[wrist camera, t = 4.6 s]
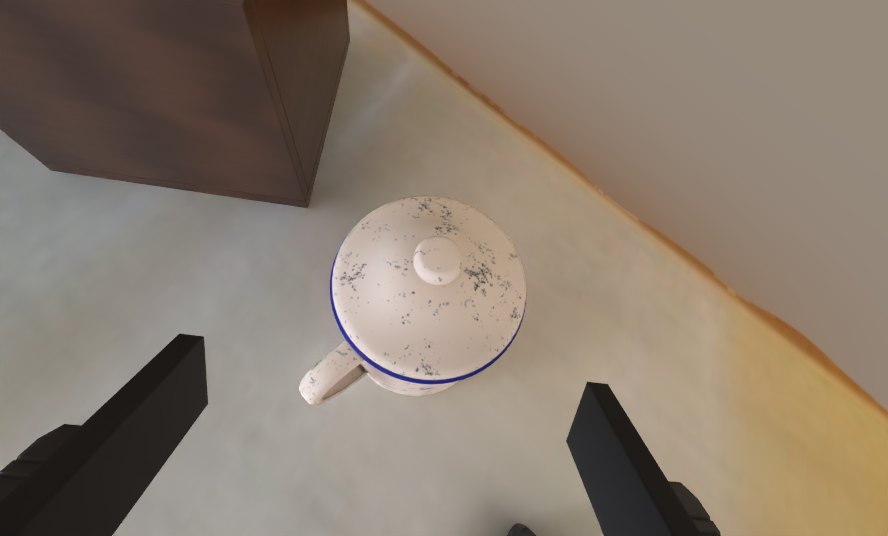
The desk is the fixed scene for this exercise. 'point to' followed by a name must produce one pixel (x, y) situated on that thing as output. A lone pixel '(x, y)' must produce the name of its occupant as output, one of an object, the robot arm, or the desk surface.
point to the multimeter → (520, 531)
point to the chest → (175, 90)
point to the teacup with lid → (420, 299)
